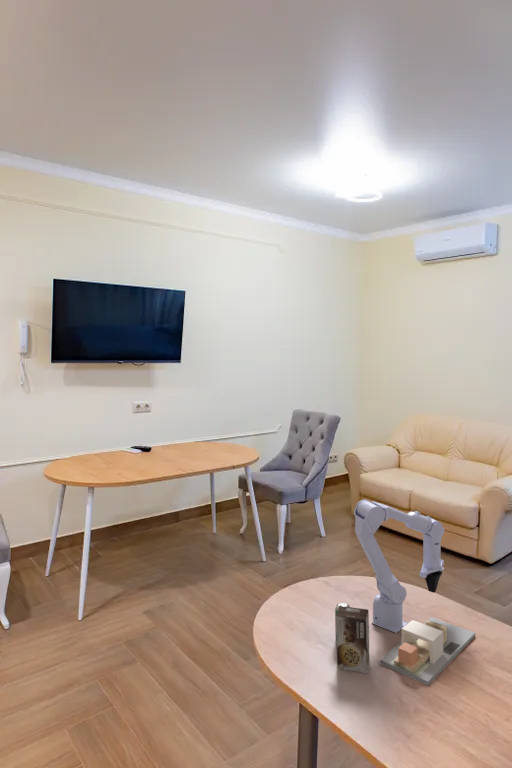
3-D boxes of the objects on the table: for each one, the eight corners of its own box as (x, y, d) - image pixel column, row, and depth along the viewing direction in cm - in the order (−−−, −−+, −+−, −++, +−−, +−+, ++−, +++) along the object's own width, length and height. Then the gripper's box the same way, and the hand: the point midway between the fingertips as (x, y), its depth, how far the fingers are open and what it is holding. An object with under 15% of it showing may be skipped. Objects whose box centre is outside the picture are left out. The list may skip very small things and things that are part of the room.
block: (398, 661, 144) (398, 647, 144) (405, 655, 147) (404, 642, 147) (411, 667, 142) (411, 653, 141) (417, 660, 144) (417, 647, 144)
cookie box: (370, 661, 149) (369, 609, 148) (367, 674, 143) (367, 619, 142) (339, 656, 152) (339, 604, 151) (336, 668, 146) (335, 615, 145)
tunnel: (401, 650, 152) (401, 628, 152) (412, 641, 157) (412, 619, 157) (433, 664, 145) (432, 640, 145) (443, 654, 150) (443, 631, 150)
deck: (380, 663, 148) (380, 659, 148) (431, 620, 172) (431, 616, 172) (428, 685, 137) (428, 681, 137) (475, 636, 161) (475, 632, 161)
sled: (393, 663, 145) (393, 648, 145) (427, 633, 161) (427, 619, 160) (414, 672, 140) (414, 657, 140) (447, 641, 156) (447, 626, 156)
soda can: (351, 647, 156) (350, 610, 156) (335, 646, 157) (334, 609, 157) (351, 638, 161) (351, 602, 161) (335, 637, 162) (335, 601, 162)
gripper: (433, 562, 165) (433, 602, 165) (451, 550, 175) (452, 587, 176) (414, 556, 170) (414, 595, 170) (432, 545, 180) (433, 581, 181)
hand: (432, 591), depth 173 cm, fingers closed
